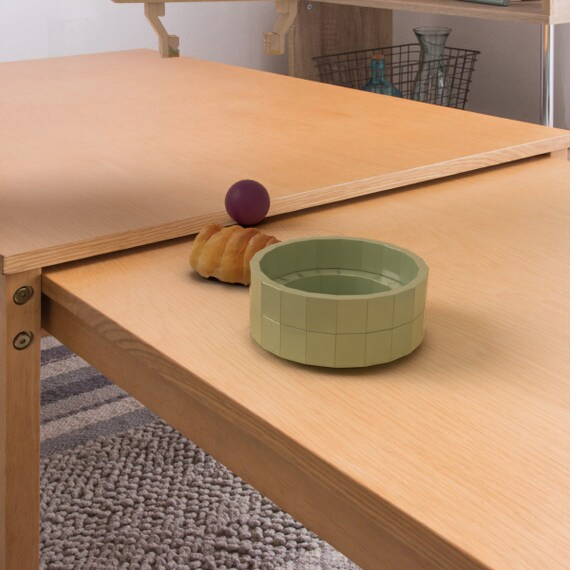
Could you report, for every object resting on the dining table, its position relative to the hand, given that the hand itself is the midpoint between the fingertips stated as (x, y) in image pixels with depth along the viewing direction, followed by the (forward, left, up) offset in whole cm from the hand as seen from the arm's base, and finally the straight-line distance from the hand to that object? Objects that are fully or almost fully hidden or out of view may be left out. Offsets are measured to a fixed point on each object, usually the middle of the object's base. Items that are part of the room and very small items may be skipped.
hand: (222, 55), depth 81 cm
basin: (+7, -23, -16) cm, 29 cm away
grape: (+2, +3, -14) cm, 15 cm away
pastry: (+1, -10, -17) cm, 20 cm away
